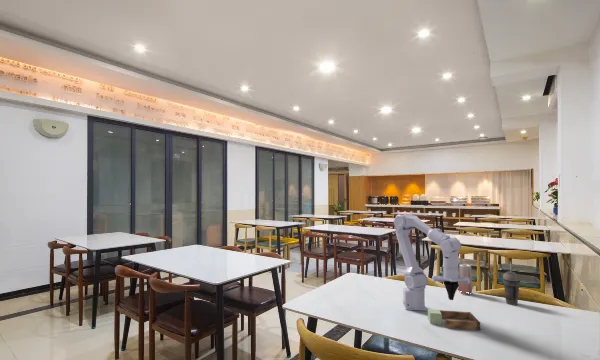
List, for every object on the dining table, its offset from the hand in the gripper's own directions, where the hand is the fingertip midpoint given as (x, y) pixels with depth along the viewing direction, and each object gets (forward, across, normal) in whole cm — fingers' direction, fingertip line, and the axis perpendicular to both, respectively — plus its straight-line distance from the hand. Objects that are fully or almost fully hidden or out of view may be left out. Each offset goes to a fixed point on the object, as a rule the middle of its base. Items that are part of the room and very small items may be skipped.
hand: (450, 299), depth 131 cm
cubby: (+9, +2, -1) cm, 10 cm away
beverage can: (+10, +18, +39) cm, 44 cm away
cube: (+10, -7, -1) cm, 12 cm away
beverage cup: (+10, +35, +27) cm, 46 cm away
